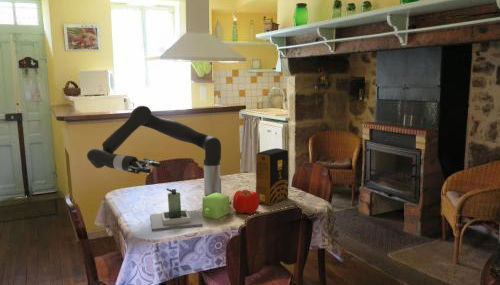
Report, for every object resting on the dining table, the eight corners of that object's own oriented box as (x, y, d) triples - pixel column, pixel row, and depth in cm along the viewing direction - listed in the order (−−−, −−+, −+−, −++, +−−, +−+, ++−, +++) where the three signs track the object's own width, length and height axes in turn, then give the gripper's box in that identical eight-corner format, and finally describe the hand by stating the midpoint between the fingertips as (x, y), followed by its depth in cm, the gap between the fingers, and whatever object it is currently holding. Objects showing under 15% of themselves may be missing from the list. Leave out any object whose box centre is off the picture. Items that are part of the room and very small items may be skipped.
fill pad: (195, 212, 201) (195, 206, 201) (202, 225, 182) (202, 219, 182) (150, 216, 195) (150, 210, 195) (152, 231, 176) (152, 224, 176)
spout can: (180, 216, 192) (179, 185, 190) (181, 220, 187) (180, 188, 185) (167, 217, 191) (166, 186, 189) (168, 221, 185) (166, 189, 183)
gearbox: (212, 223, 186) (212, 204, 185) (196, 218, 192) (196, 199, 190) (235, 212, 201) (235, 194, 199) (219, 208, 207) (219, 190, 205)
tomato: (228, 210, 204) (227, 190, 202) (251, 206, 210) (250, 186, 209) (240, 218, 192) (240, 196, 190) (264, 213, 198) (264, 192, 197)
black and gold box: (290, 197, 225) (290, 148, 220) (270, 206, 210) (270, 153, 205) (274, 194, 231) (274, 146, 227) (253, 202, 216) (253, 151, 212)
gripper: (116, 160, 187) (146, 165, 182) (134, 151, 200) (163, 156, 195) (116, 175, 189) (147, 180, 184) (134, 166, 202) (163, 170, 197)
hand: (155, 168), depth 190 cm, fingers open, 8 cm apart
